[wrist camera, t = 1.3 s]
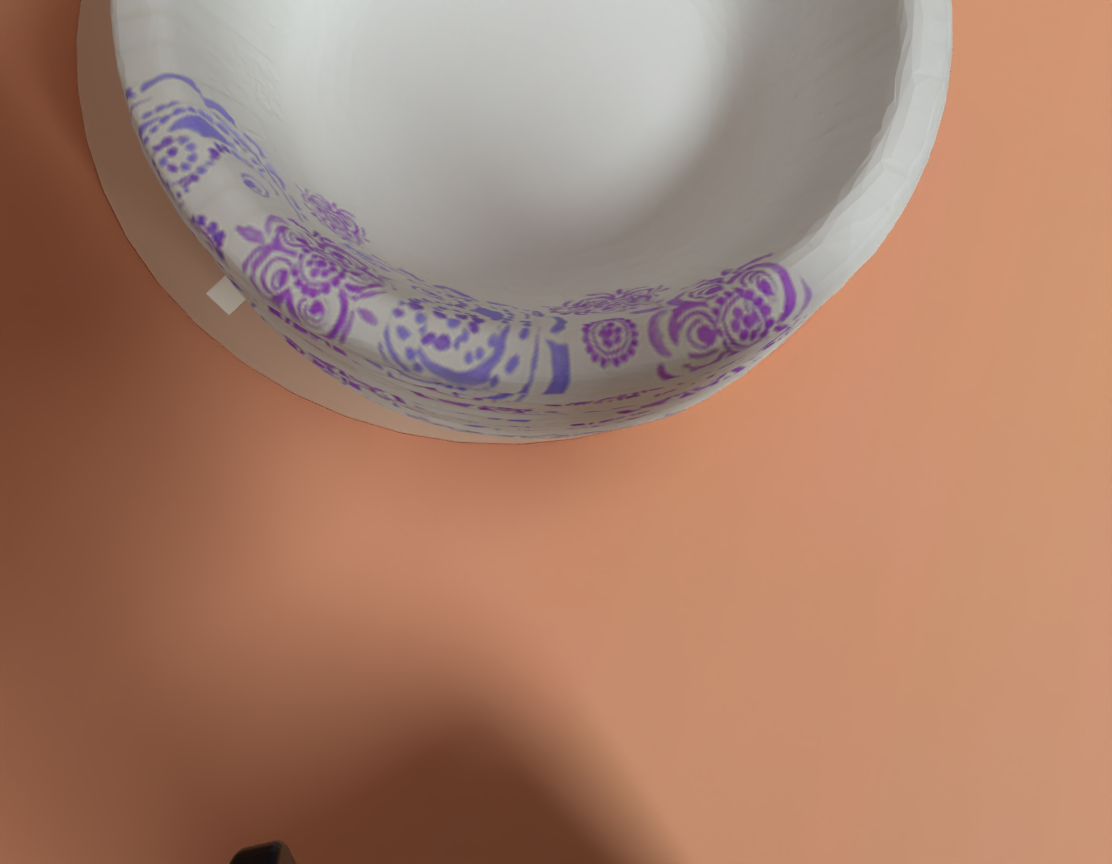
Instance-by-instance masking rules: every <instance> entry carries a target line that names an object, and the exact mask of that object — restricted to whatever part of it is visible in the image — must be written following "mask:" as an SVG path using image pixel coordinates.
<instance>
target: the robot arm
mask: <svg viewBox="0 0 1112 864" xmlns="http://www.w3.org/2000/svg"><path fill="white" fill-rule="evenodd" d="M230 864H296V863H295V861H294V859H293V857H292V854H291V852H290V850H289V848H288V847H287V845H286V844H285V843H284V842H282V841H280V840H278V841H271V842H267V843H263V844H258V845H254V846H249V847H245V848H243V849H241V850H240V851H239V852H238V853H236V854H235V856H234V857H233V858H232V860H231V862H230Z"/></svg>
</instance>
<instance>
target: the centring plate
mask: <svg viewBox="0 0 1112 864" xmlns="http://www.w3.org/2000/svg"><path fill="white" fill-rule="evenodd" d="M110 1H111V0H81V4H80V12H79V20H78V28H77V36H76V42H77V85H78V94H79V99H80V105H81V111H82V117H83V123H84V128H85V134H86V140H87V143H88V146H89V149H90V152H91V155H92V158H93V161H94V164H95V167H96V170H97V173H98V176H99V179H100V182H101V185H102V188H103V191H104V193H105V195H106V197H107V199H108V201H109V203H110V205H111V207H112V209H113V211H114V213H115V215H116V217H117V219H118V221H119V223H120V225H121V227H122V229H123V231H124V233H125V235H126V237H127V239H128V240H129V241H130V243H131V244H132V246H133V247H134V249H135V250H136V252H137V253H138V254H139V256H140V257H141V259H142V260H143V262H144V263H145V264H146V266H147V267H148V269H149V270H150V272H151V273H152V275H153V276H154V277H155V279H156V280H157V282H158V283H159V284H160V285H161V286H162V288H163V289H164V290H165V291H166V292H167V293H168V294H169V295H170V296H171V297H172V298H173V299H174V300H175V302H176V303H177V304H178V305H179V306H180V307H181V308H182V309H183V310H184V311H185V312H186V313H187V314H188V316H189V317H190V318H191V319H192V320H193V321H194V322H195V323H196V324H197V325H198V326H199V327H200V328H201V329H203V330H204V331H205V332H206V333H208V334H209V335H210V336H211V337H212V338H214V339H215V340H216V341H217V342H219V343H220V344H221V345H222V346H223V347H225V348H226V349H227V350H228V351H230V352H231V353H232V354H233V355H234V356H236V357H237V358H238V359H239V360H241V361H242V362H243V363H245V364H246V365H248V366H249V367H251V368H253V369H254V370H256V371H258V372H259V373H261V374H262V375H264V376H266V377H267V378H269V379H271V380H272V381H274V382H275V383H277V384H279V385H280V386H282V387H284V388H285V389H287V390H288V391H290V392H292V393H294V394H296V395H298V396H300V397H303V398H305V399H307V400H309V401H312V402H314V403H316V404H318V405H321V406H323V407H325V408H327V409H330V410H332V411H334V412H336V413H339V414H341V415H343V416H345V417H349V418H352V419H355V420H359V421H362V422H366V423H369V424H372V425H376V426H379V427H382V428H386V429H389V430H393V431H396V432H399V433H403V434H409V435H416V436H422V437H428V438H434V439H441V440H447V441H453V442H459V443H489V444H528V443H538V442H548V441H558V440H568V439H578V438H582V437H586V436H590V435H595V434H599V433H594V434H588V435H581V436H575V437H566V438H541V439H528V438H506V437H494V436H488V435H481V434H472V433H464V432H457V431H453V430H449V429H445V428H441V427H438V426H434V425H430V424H427V423H425V422H422V421H419V420H416V419H413V418H411V417H408V416H405V415H402V414H400V413H398V412H396V411H393V410H391V409H389V408H386V407H384V406H382V405H379V404H377V403H375V402H373V401H371V400H369V399H367V398H365V397H364V396H362V395H360V394H358V393H357V392H355V391H353V390H351V389H350V388H348V387H346V386H345V385H343V384H341V383H340V382H338V381H337V380H335V379H334V378H332V377H331V376H329V375H328V374H327V373H325V372H324V371H323V370H321V369H320V368H318V367H317V366H316V365H314V364H313V363H312V362H310V361H309V360H308V359H306V358H305V357H303V356H302V355H301V354H299V353H298V352H297V351H295V350H294V349H293V348H292V347H291V346H290V345H289V344H288V343H286V342H285V341H284V340H283V339H282V338H281V337H280V336H279V335H278V334H277V333H276V332H275V331H274V330H273V329H272V328H271V327H269V326H268V325H267V323H266V322H265V321H264V320H263V319H262V318H261V317H260V316H259V315H258V313H257V312H256V311H255V310H254V309H253V308H252V307H251V306H250V305H249V303H248V302H247V301H246V299H245V298H244V297H243V296H242V295H241V294H240V292H239V291H238V290H237V289H236V288H235V287H234V285H233V284H232V283H231V281H230V280H229V279H228V278H227V277H226V275H225V274H224V273H223V272H222V270H221V269H220V267H219V266H218V265H217V263H216V262H215V261H214V258H213V257H212V256H211V255H210V254H209V253H208V252H207V250H206V249H205V248H204V247H203V245H202V244H201V243H200V242H199V241H198V239H197V238H196V237H195V236H194V234H193V233H192V232H191V231H190V229H189V228H188V226H187V225H186V224H185V223H184V221H183V220H182V218H181V217H180V215H179V213H178V212H177V210H176V209H175V207H174V206H173V204H172V202H171V201H170V199H169V197H168V196H167V194H166V192H165V191H164V189H163V188H162V186H161V184H160V182H159V181H158V179H157V177H156V176H155V174H154V172H153V170H152V168H151V166H150V164H149V163H148V161H147V159H146V157H145V155H144V153H143V151H142V148H141V145H140V142H139V140H138V137H137V135H136V133H135V131H134V129H133V127H132V121H131V116H130V113H129V109H128V106H127V102H126V99H125V96H124V93H123V91H122V84H121V81H120V77H119V73H118V70H117V61H116V56H115V47H114V41H113V34H112V23H111V15H110ZM820 308H821V307H820ZM820 308H819V309H820ZM817 310H818V309H817ZM817 310H816V311H817ZM816 311H815V312H816ZM815 312H814V313H815ZM814 313H813V314H814ZM813 314H812V315H813ZM812 315H811V316H812ZM811 316H810V317H811ZM810 317H809V318H810ZM809 318H808V319H809ZM808 319H806V320H805V321H804V322H803V323H802V324H801V325H800V326H799V327H798V328H797V329H796V330H795V331H794V332H793V333H791V334H790V335H789V336H788V337H787V338H786V339H785V340H784V341H783V342H782V343H781V344H780V345H779V346H778V347H777V348H779V347H780V346H781V345H782V344H783V343H784V342H785V341H786V340H787V339H788V338H789V337H790V336H792V335H793V334H794V333H795V332H796V331H797V330H798V329H799V328H800V327H801V326H802V325H803V324H804V323H805V322H806V321H807V320H808ZM777 348H776V349H777ZM776 349H775V350H776ZM775 350H773V351H775ZM773 351H772V352H773ZM772 352H771V353H772ZM771 353H770V354H771ZM767 356H768V355H767ZM611 431H612V430H611ZM606 432H608V431H606ZM601 433H603V432H601Z"/></svg>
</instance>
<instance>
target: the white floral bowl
mask: <svg viewBox="0 0 1112 864" xmlns="http://www.w3.org/2000/svg"><path fill="white" fill-rule="evenodd" d="M110 15H111V23H112V34H113V41H114V47H115V56H116V61H117V70H118V73H119V77H120V81H121V84H122V91H123V93H124V96H125V99H126V102H127V106H128V109H129V113H130V116H131V121H132V127H133V129H134V131H135V133H136V135H137V137H138V140H139V142H140V145H141V148H142V151H143V153H144V155H145V157H146V159H147V161H148V163H149V164H150V166H151V168H152V170H153V172H154V174H155V176H156V177H157V179H158V181H159V182H160V184H161V186H162V188H163V189H164V191H165V192H166V194H167V196H168V197H169V199H170V201H171V202H172V204H173V206H174V207H175V209H176V210H177V212H178V213H179V215H180V217H181V218H182V220H183V221H184V223H185V224H186V225H187V226H188V228H189V229H190V231H191V232H192V233H193V234H194V236H195V237H196V238H197V239H198V241H199V242H200V243H201V244H202V245H203V247H204V248H205V249H206V250H207V252H208V253H209V254H210V255H211V256H212V257H213V258H214V261H215V262H216V263H217V265H218V266H219V267H220V269H221V270H222V272H223V273H224V274H225V275H226V277H227V278H228V279H229V280H230V281H231V283H232V284H233V285H234V287H235V288H236V289H237V290H238V291H239V292H240V294H241V295H242V296H243V297H244V298H245V299H246V301H247V302H248V303H249V305H250V306H251V307H252V308H253V309H254V310H255V311H256V312H257V313H258V315H259V316H260V317H261V318H262V319H263V320H264V321H265V322H266V323H267V325H268V326H269V327H271V328H272V329H273V330H274V331H275V332H276V333H277V334H278V335H279V336H280V337H281V338H282V339H283V340H284V341H285V342H286V343H288V344H289V345H290V346H291V347H292V348H293V349H294V350H295V351H297V352H298V353H299V354H301V355H302V356H303V357H305V358H306V359H308V360H309V361H310V362H312V363H313V364H314V365H316V366H317V367H318V368H320V369H321V370H323V371H324V372H325V373H327V374H328V375H329V376H331V377H332V378H334V379H335V380H337V381H338V382H340V383H341V384H343V385H345V386H346V387H348V388H350V389H351V390H353V391H355V392H357V393H358V394H360V395H362V396H364V397H365V398H367V399H369V400H371V401H373V402H375V403H377V404H379V405H382V406H384V407H386V408H389V409H391V410H393V411H396V412H398V413H400V414H402V415H405V416H408V417H411V418H413V419H416V420H419V421H422V422H425V423H427V424H430V425H434V426H438V427H441V428H445V429H449V430H453V431H457V432H464V433H472V434H481V435H488V436H494V437H506V438H528V439H541V438H566V437H575V436H581V435H588V434H594V433H601V432H606V431H611V430H616V429H621V428H628V427H632V426H636V425H640V424H644V423H647V422H651V421H655V420H658V419H663V418H666V417H669V416H671V415H674V414H677V413H679V412H681V411H683V410H685V409H687V408H689V407H691V406H693V405H695V404H697V403H699V402H702V401H704V400H705V399H707V398H708V397H710V396H711V395H713V394H715V393H716V392H718V391H719V390H721V389H723V388H724V387H726V386H727V385H729V384H730V383H732V382H734V381H735V380H737V379H739V378H741V377H742V376H743V375H744V374H745V373H747V372H748V371H749V370H750V369H752V368H753V367H754V366H755V365H756V364H758V363H759V362H760V361H761V360H763V359H764V358H765V357H766V356H767V355H769V354H770V353H771V352H772V351H773V350H775V349H776V348H777V347H778V346H779V345H780V344H781V343H782V342H783V341H784V340H785V339H786V338H787V337H788V336H789V335H790V334H791V333H793V332H794V331H795V330H796V329H797V328H798V327H799V326H800V325H801V324H802V323H803V322H804V321H805V320H806V319H808V318H809V317H810V316H811V315H812V314H813V313H814V312H815V311H816V310H817V309H819V308H820V307H821V306H822V305H823V304H824V303H825V302H826V301H827V300H828V299H829V298H831V297H832V296H833V295H834V294H835V293H836V292H838V291H839V290H840V289H841V288H842V287H843V286H844V284H845V283H846V282H847V281H848V280H849V279H850V278H851V277H852V275H853V274H854V273H855V272H856V271H857V270H858V269H859V268H860V267H861V266H862V265H863V264H864V263H865V262H866V261H867V260H869V258H870V257H871V256H872V255H873V254H874V253H875V252H876V251H877V249H878V248H879V246H880V245H881V244H882V242H883V241H884V239H885V238H886V237H887V235H888V234H889V233H890V231H891V230H892V228H893V227H894V225H895V223H896V221H897V220H898V218H899V217H900V216H901V214H902V212H903V210H904V208H905V206H906V205H907V203H908V201H909V200H910V198H911V196H912V194H913V192H914V190H915V188H916V186H917V184H918V182H919V179H920V177H921V175H922V173H923V171H924V168H925V166H926V164H927V162H928V160H929V155H930V152H931V150H932V147H933V145H934V142H935V139H936V135H937V132H938V128H939V125H940V122H941V118H942V114H943V110H944V108H945V105H946V95H947V90H948V83H949V75H950V67H951V58H952V3H951V0H111V1H110Z"/></svg>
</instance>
